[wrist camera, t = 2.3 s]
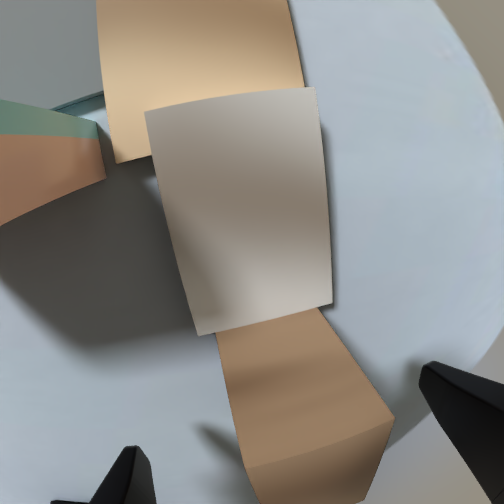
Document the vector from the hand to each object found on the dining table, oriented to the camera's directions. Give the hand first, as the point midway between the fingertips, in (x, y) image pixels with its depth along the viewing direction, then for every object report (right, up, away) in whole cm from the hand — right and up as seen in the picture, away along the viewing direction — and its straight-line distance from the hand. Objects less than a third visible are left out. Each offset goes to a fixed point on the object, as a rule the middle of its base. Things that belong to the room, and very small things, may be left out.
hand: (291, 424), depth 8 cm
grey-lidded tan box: (-1, +4, +1) cm, 4 cm away
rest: (-3, +11, -1) cm, 11 cm away
